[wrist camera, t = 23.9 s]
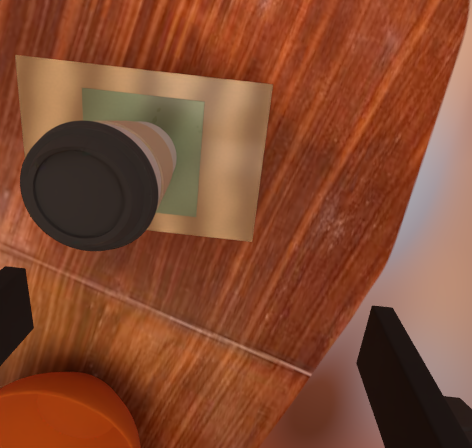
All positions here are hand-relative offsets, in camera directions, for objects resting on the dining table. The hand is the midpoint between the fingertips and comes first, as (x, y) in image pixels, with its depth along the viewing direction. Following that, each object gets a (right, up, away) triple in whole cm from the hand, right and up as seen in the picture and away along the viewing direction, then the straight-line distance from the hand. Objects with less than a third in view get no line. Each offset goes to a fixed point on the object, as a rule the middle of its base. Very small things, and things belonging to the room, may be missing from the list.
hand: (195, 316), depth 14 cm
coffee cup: (-8, +10, +23) cm, 26 cm away
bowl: (-24, -26, +47) cm, 59 cm away
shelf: (-7, +13, +31) cm, 35 cm away
